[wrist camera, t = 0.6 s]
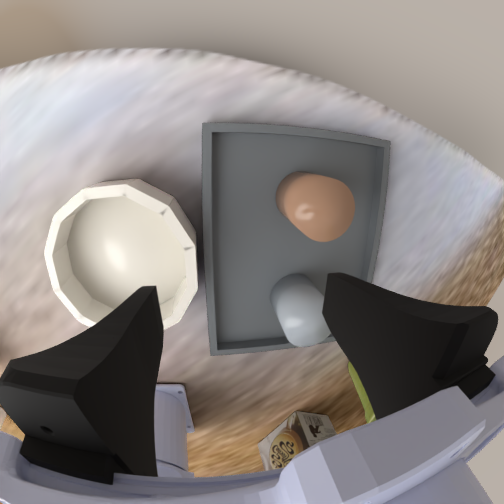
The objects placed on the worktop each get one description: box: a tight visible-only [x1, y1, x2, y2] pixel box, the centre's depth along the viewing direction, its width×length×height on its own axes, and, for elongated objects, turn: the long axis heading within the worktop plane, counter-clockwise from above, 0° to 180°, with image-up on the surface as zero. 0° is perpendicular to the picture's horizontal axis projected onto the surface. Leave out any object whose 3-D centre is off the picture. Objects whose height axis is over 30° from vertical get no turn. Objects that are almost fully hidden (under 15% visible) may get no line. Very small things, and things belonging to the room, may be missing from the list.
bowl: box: [44, 179, 198, 330], centre depth 18 cm, size 11×11×3 cm
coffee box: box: [258, 411, 337, 471], centre depth 24 cm, size 9×6×16 cm
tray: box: [202, 123, 390, 356], centre depth 21 cm, size 18×14×2 cm
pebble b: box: [276, 171, 355, 242], centre depth 17 cm, size 4×4×4 cm
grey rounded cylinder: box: [270, 274, 331, 347], centre depth 20 cm, size 4×4×4 cm
